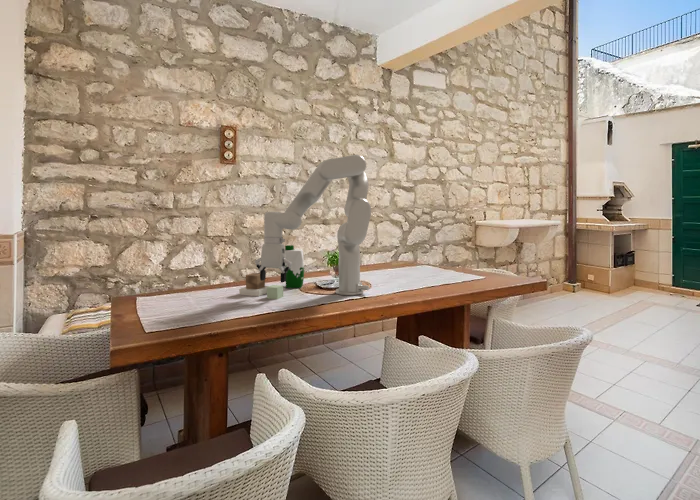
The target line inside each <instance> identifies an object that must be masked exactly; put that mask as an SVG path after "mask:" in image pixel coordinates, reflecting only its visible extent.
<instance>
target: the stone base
mask: <svg viewBox="0 0 700 500" xmlns="http://www.w3.org/2000/svg"><path fill="white" fill-rule="evenodd" d="M268 286H269V285H265V287H263V288H260V289H246V286H245V287H241V288H239V289H238V290H239V292H238V293H239V295H240V296H241V295H242V296H252V297H260V296H263V295H265V294H266V295H267V287H268Z"/></svg>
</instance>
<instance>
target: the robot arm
mask: <svg viewBox="0 0 700 500" xmlns="http://www.w3.org/2000/svg"><path fill="white" fill-rule="evenodd" d="M366 161H367V160H366V159H365V158H364V157H363V156H362V155H360V154H353V155H346V156H340V157H336V158H335V157H334V158H329V159H325V160H323V161H321V162H320V163H319V164H318V165H317V167H316V168H315V170H313V172H312V174H310V176H309V178H308V179H307V180H306V182H305V183H304V185H303V186H302V187H301V188H300V190H299V192H298V193H297V194H296V196H295V197H294V198H293V200H292V201H291V203H290V204H289V205H288V207H287V208H286V209H285V211H284V212H280V211H266V212H265V213H264V215H263V217H264V219H263V221H264V224H263V225H264V228H263V229H264V232H263V233H264V234H263V236H264V237H263V238H264V240H263V244H262V246H261V253H260V255H261V256H260V257H259V258H256V259H255V260H254V263H255V265H256V268H257V269H258V271H259V273H260V280H261V281H263V280H265V281H266V279H267V271H266V269H267V268H269V269H279V271H280V272H281V273H280V283H286V282H285V281H286V272H287V271H288V270H289V269H290V267H291V265H292V263H291V262H290V261H288V260H287V259H286V252H285V246H286V245H285V244H283V243H285V242H286V239H285V238H283V229H285V230H291V231H294V230H297V229H299V227H301V225H302V223H303V222H302V220H303V219H302V218H303V216H304V215H305V213H306V211H308V209H309V208H311V207H312V206H313V205H315V204H316V203H317V202H318V201H319V200H320V199H321V197H322V195H323V194H324V192H325V191H326V189H327V188H328V187H329V186H330V184H331V182H332V181H333V180H339V179H344V178H347V179H348V192H347V195H346V199H345V200H346V202H345V204H344V211H343V212H344V214H345V216H346V217H347V220H346V222H343V223H342V224H340V226H339V227H338V229H337V233H336V234H337V237H336V238H337V245H338V246H337V247H338V288H336V289H335V294H337V295H341V296H358V295H362V294H364V291H369V290H370V286H369V285H366V284H365V285H364V284H363V282H361V250H360V248H361V247H360V245H361V244H362V243H363V242H365V240H366V237H367V233H368V228H369V225H370V222H371V221H370V220H371V215H372V206H371V204H370V202H369V201H368V200H367V198H368V192H369V178H368V176H367V174H366V169H367V162H366ZM286 264H287V267H286V268H285V266H286Z"/></svg>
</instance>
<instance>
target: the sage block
mask: <svg viewBox="0 0 700 500" xmlns="http://www.w3.org/2000/svg"><path fill="white" fill-rule="evenodd" d="M267 286H268V287H267V293H266V299H271V300H279V299H282V298H284V285H279V284H271V285H267Z"/></svg>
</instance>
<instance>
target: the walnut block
mask: <svg viewBox="0 0 700 500" xmlns="http://www.w3.org/2000/svg"><path fill="white" fill-rule="evenodd" d="M265 286H266V279H265V280H263V281H261V280H260V272H259V273H255V272H252V273H249V274H246V275H245V287H246V289H260V288H263V287H265Z"/></svg>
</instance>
